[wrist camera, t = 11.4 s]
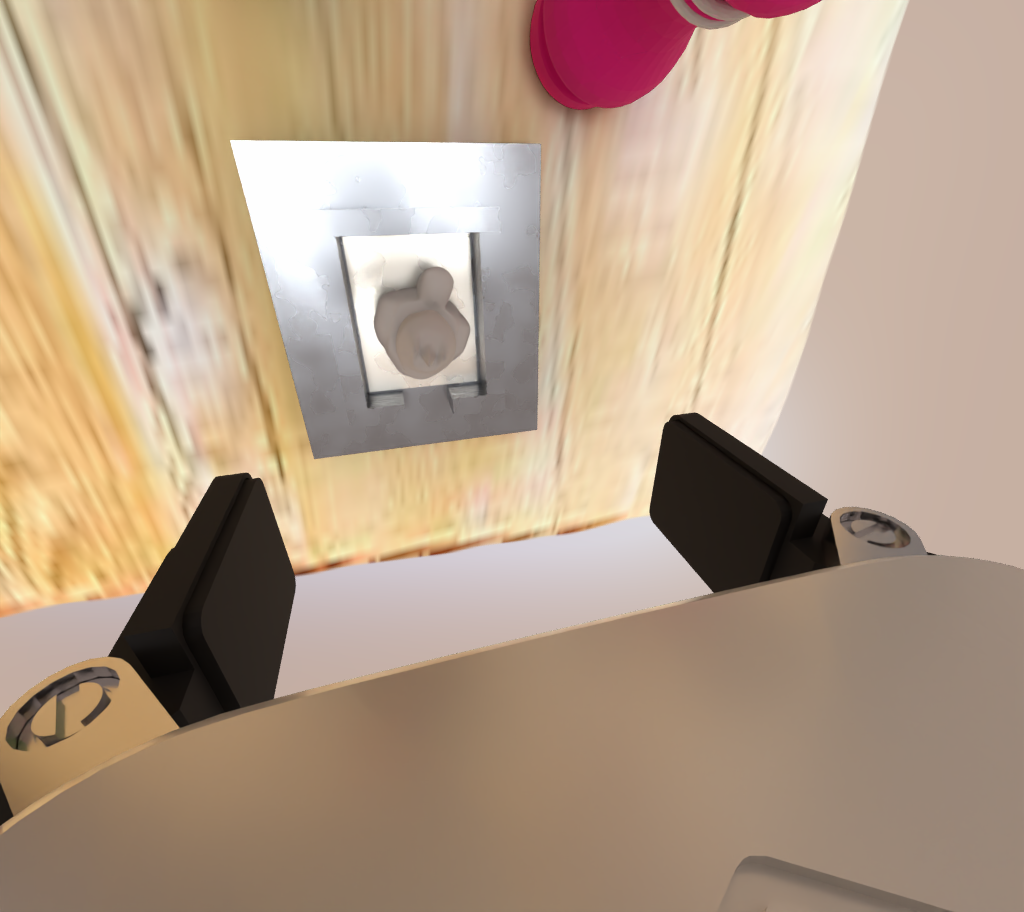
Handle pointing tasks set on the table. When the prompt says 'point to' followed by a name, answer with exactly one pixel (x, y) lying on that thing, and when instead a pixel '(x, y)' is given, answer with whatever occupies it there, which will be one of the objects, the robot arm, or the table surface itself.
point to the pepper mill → (625, 42)
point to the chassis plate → (399, 281)
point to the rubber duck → (422, 325)
